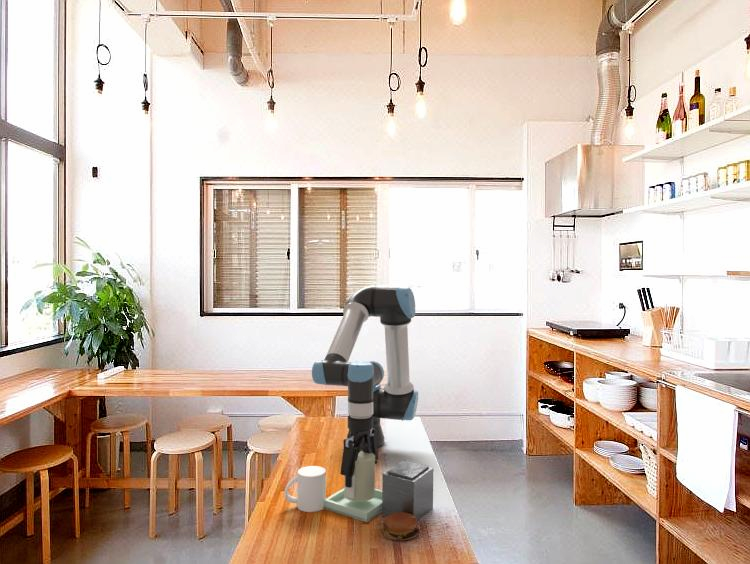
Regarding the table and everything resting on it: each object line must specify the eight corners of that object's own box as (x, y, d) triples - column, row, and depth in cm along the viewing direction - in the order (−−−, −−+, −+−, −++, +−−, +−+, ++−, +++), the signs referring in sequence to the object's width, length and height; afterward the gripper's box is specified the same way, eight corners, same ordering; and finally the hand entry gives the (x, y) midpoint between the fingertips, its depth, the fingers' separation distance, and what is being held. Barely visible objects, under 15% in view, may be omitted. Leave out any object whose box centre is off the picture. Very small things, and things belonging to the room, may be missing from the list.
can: (340, 500, 149) (340, 458, 149) (348, 486, 158) (348, 447, 158) (371, 503, 147) (371, 461, 147) (377, 489, 156) (378, 450, 156)
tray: (353, 490, 163) (353, 482, 163) (394, 502, 155) (394, 493, 155) (323, 508, 150) (323, 500, 150) (366, 522, 142) (366, 513, 142)
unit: (403, 499, 156) (404, 458, 156) (433, 508, 151) (434, 465, 151) (382, 516, 146) (382, 471, 146) (413, 525, 141) (413, 479, 140)
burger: (375, 531, 138) (375, 513, 138) (403, 522, 143) (403, 505, 143) (397, 547, 130) (397, 529, 130) (426, 537, 135) (426, 519, 135)
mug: (326, 475, 148) (283, 477, 146) (326, 511, 148) (283, 513, 147) (325, 465, 156) (285, 466, 155) (325, 499, 156) (284, 500, 155)
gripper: (369, 405, 163) (369, 476, 164) (327, 422, 145) (327, 501, 145) (390, 408, 159) (389, 481, 160) (349, 426, 141) (348, 508, 141)
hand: (359, 491), depth 152 cm, fingers open, 9 cm apart
